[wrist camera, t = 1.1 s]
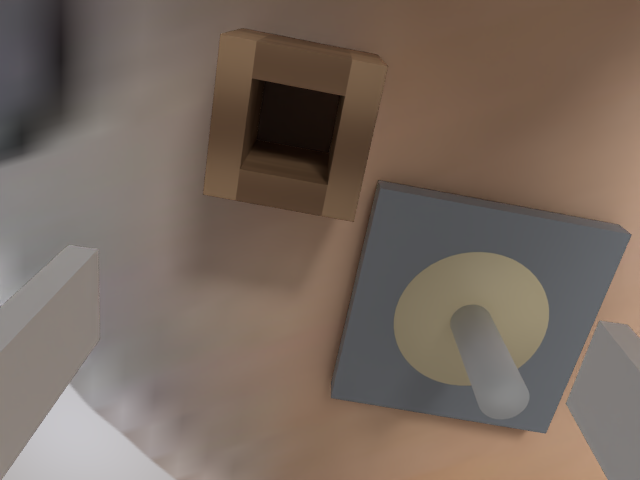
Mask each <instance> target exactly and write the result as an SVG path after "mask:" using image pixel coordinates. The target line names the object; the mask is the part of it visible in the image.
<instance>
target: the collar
mask: <svg viewBox="0 0 640 480" xmlns="http://www.w3.org/2000/svg"><path fill="white" fill-rule="evenodd" d="M387 69H388V66H387V65H386V64H385V63H384V62H383V60H382V59H381V58H380V57H379V56H378V55H376V54H371V53H366V52H361V51H356V50H351V49H346V48H341V47H336V46H330V45H325V44H320V43H315V42H310V41H305V40H300V39H295V38H290V37H285V36H279V35H274V34H269V33H264V32H259V31H254V30H249V29H244V28H242V29H238V30H234V31H230V32H226V33H222V34H220V42H219V51H218V60H217V70H216V79H215V88H214V97H213V107H212V116H211V125H210V134H209V143H208V153H207V162H206V171H205V180H204V190H203V195H208V196H214V197H219V198H225V199H230V200H236V201H241V202H247V203H252V204H258V205H263V206H269V207H274V208H280V209H285V210H291V211H296V212H302V213H307V214H313V215H318V216H324V217H329V218H335V219H341V220H346V221H352V222H354V217H355V213H356V208H357V204H358V199H359V195H360V190H361V186H362V181H363V177H364V172H365V168H366V163H367V159H368V154H369V150H370V145H371V141H372V136H373V132H374V127H375V123H376V118H377V114H378V109H379V105H380V100H381V96H382V91H383V87H384V82H385V78H386V73H387ZM265 81H269V82H274V83H279V84H284V85H289V86H295V87H300V88H305V89H310V90H315V91H321V92H326V93H331V94H336V95H340V98H339V103H338V109H337V114H336V119H335V124H334V129H333V134H332V140H331V145H330V150H329V153H326V152H321V151H316V150H310V149H305V148H300V147H294V146H289V145H283V144H278V143H273V142H267V141H262V140H257V135H258V128H259V120H260V113H261V106H262V99H263V92H264V85H265Z"/></svg>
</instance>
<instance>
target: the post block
mask: <svg viewBox="0 0 640 480" xmlns="http://www.w3.org/2000/svg"><path fill="white" fill-rule="evenodd" d="M630 237H631V234H630V233H629V232H628V231H626V230H625V229H624V228H622V227H621V226H620V225H618V224H612V223H607V222H602V221H596V220H591V219H585V218H580V217H575V216H569V215H564V214H558V213H553V212H548V211H542V210H537V209H531V208H526V207H521V206H515V205H510V204H504V203H499V202H494V201H488V200H483V199H477V198H472V197H467V196H461V195H456V194H450V193H445V192H440V191H434V190H429V189H423V188H418V187H413V186H407V185H402V184H396V183H391V182H386V181H380V180H378V184H377V188H376V193H375V197H374V201H373V205H372V210H371V214H370V218H369V223H368V227H367V231H366V236H365V240H364V244H363V248H362V253H361V257H360V261H359V266H358V270H357V274H356V278H355V283H354V287H353V291H352V296H351V300H350V304H349V308H348V313H347V317H346V321H345V326H344V330H343V334H342V339H341V343H340V347H339V351H338V356H337V360H336V364H335V369H334V373H333V377H332V381H331V398H334V399H340V400H346V401H352V402H358V403H364V404H370V405H376V406H383V407H389V408H395V409H401V410H407V411H413V412H419V413H425V414H431V415H437V416H443V417H449V418H455V419H461V420H467V421H473V422H479V423H485V424H491V425H497V426H503V427H509V428H515V429H522V430H528V431H534V432H540V433H546V432H547V430H548V427H549V425H550V423H551V420H552V418H553V416H554V413H555V411H556V409H557V406H558V404H559V402H560V399H561V397H562V395H563V392H564V390H565V388H566V385H567V383H568V381H569V379H570V376H571V374H572V372H573V369H574V367H575V365H576V362H577V360H578V358H579V355H580V353H581V351H582V348H583V346H584V344H585V341H586V339H587V337H588V335H589V332H590V330H591V328H592V325H593V323H594V321H595V318H596V316H597V314H598V311H599V309H600V307H601V304H602V302H603V300H604V297H605V295H606V293H607V291H608V288H609V286H610V284H611V281H612V279H613V277H614V274H615V272H616V270H617V267H618V265H619V263H620V260H621V258H622V256H623V253H624V251H625V249H626V246H627V244H628V242H629V240H630Z"/></svg>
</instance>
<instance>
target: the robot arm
mask: <svg viewBox="0 0 640 480" xmlns="http://www.w3.org/2000/svg"><path fill="white" fill-rule="evenodd" d="M99 340H100V317H99V257H98V249H95V248H88V247H81V246H74V245H68V246H66V247H65V248H64V249H63V250H62V251H61V252H60V253H59V254H58V255H57V256H56V257H54V258H53V259H52V260H51V261H50V262H49V263H48V264H47V265H46V266H45V267H44V268H43V269H41V270H40V271H39V272H38V273H37V274H36V275H35V276H34V277H33V278H32V279H31V280H29V281H28V282H27V283H26V284H25V285H24V286H23V287H22V288H21V289H20V290H19V291H17V292H16V293H15V294H14V295H13V296H12V297H11V298H10V299H9V300H8V301H7V302H6V303H4V304H3V305H2V306H1V307H0V480H2V478H3V476H5V474H6V473H7V471H8V470H9V468H10V467H11V466H12V464H13V463H14V461H15V460H16V458H17V457H18V456H19V454H20V453H21V451H22V450H23V448H24V447H25V445H26V444H27V443H28V441H29V440H30V438H31V437H32V436H33V434H34V433H35V431H36V430H37V428H38V427H39V425H40V424H41V423H42V421H43V420H44V418H45V417H46V415H47V414H48V413H49V411H50V410H51V408H52V407H53V405H54V404H55V403H56V401H57V400H58V398H59V397H60V395H61V394H62V392H63V391H64V390H65V388H66V387H67V385H68V384H69V383H70V381H71V380H72V378H73V377H74V375H75V374H76V373H77V371H78V370H79V368H80V367H81V365H82V364H83V363H84V361H85V360H86V358H87V357H88V355H89V354H90V352H91V351H92V350H93V348H94V347H95V345H96V344H97V342H98V341H99ZM566 405H567V406H568V408H569V410H570V412H571V414H572V416H573V417H574V419H575V421H576V423H577V425H578V426H579V428H580V430H581V432H582V434H583V436H584V437H585V439H586V441H587V443H588V445H589V446H590V448H591V450H592V452H593V454H594V455H595V457H596V459H597V461H598V463H599V465H600V466H601V468H602V470H603V472H604V474H605V475H606V477H607V479H608V480H640V338H639V337H638V336H637V335H636V334H635V332H634V331H633V330H632V329H631V328H630V327H629V326H628V325H627V324H620V323H613V322H606V321H599V322H598V325H597V327H596V330H595V332H594V335H593V337H592V340H591V342H590V345H589V347H588V350H587V352H586V355H585V357H584V360H583V362H582V365H581V367H580V370H579V372H578V375H577V377H576V380H575V382H574V385H573V387H572V390H571V392H570V395H569V397H568V400H567V402H566Z"/></svg>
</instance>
